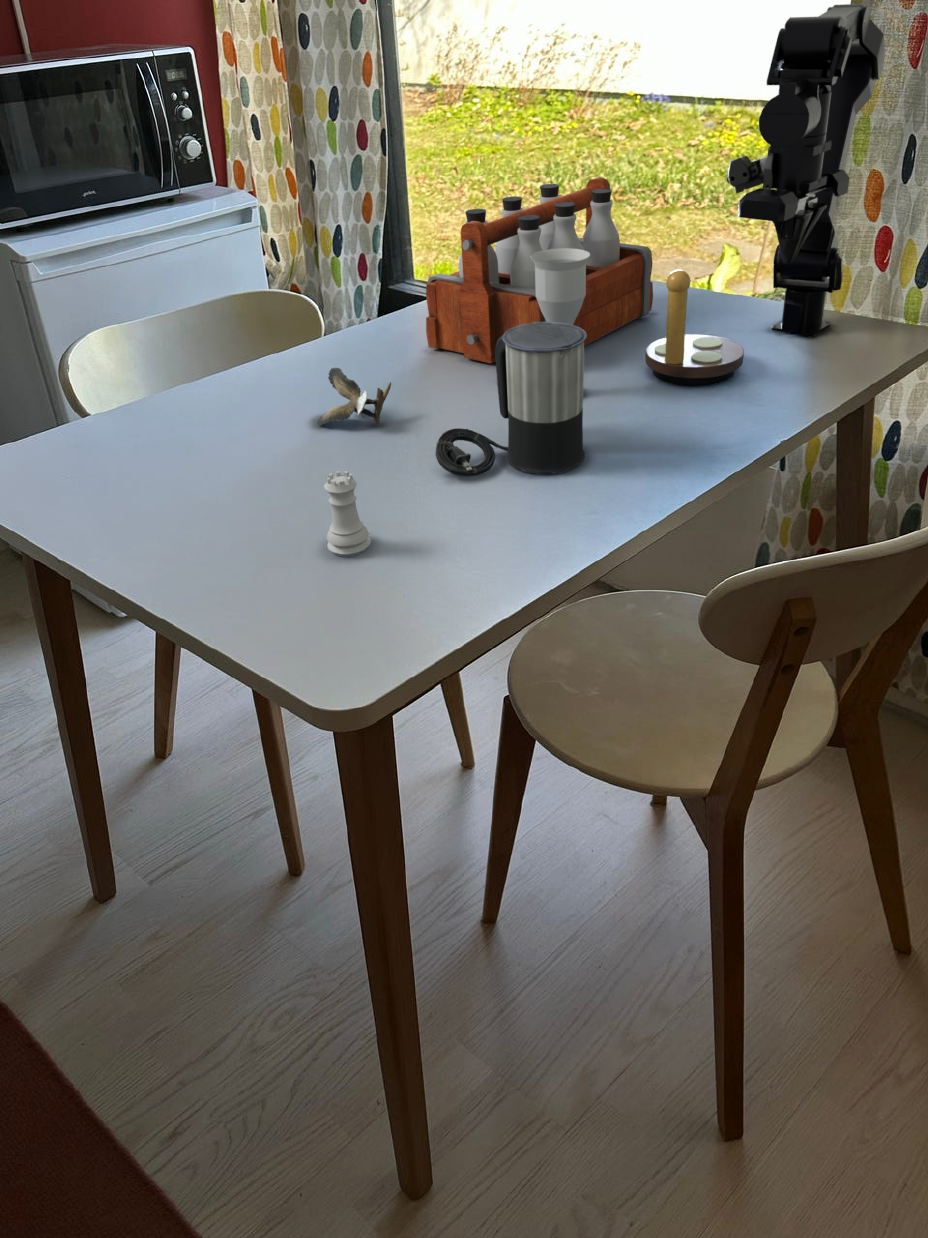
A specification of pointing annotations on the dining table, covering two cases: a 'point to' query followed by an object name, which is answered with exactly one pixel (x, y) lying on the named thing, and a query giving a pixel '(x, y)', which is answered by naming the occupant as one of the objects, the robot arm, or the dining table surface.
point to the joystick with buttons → (690, 342)
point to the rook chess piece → (345, 517)
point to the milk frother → (531, 403)
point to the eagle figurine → (352, 399)
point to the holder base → (692, 379)
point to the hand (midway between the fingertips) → (787, 262)
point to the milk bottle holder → (505, 278)
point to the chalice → (560, 283)
